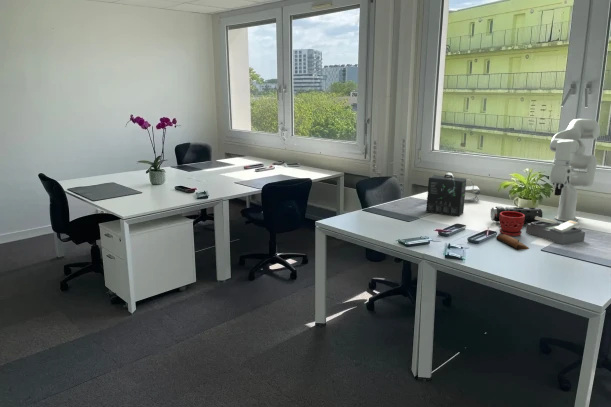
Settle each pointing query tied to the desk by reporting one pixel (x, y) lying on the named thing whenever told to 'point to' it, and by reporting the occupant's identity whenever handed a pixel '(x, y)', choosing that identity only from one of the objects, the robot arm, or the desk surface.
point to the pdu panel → (555, 232)
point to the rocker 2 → (566, 226)
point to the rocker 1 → (545, 220)
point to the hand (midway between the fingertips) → (557, 195)
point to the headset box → (446, 195)
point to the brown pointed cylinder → (511, 241)
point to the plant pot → (511, 223)
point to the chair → (470, 188)
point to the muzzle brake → (528, 212)
